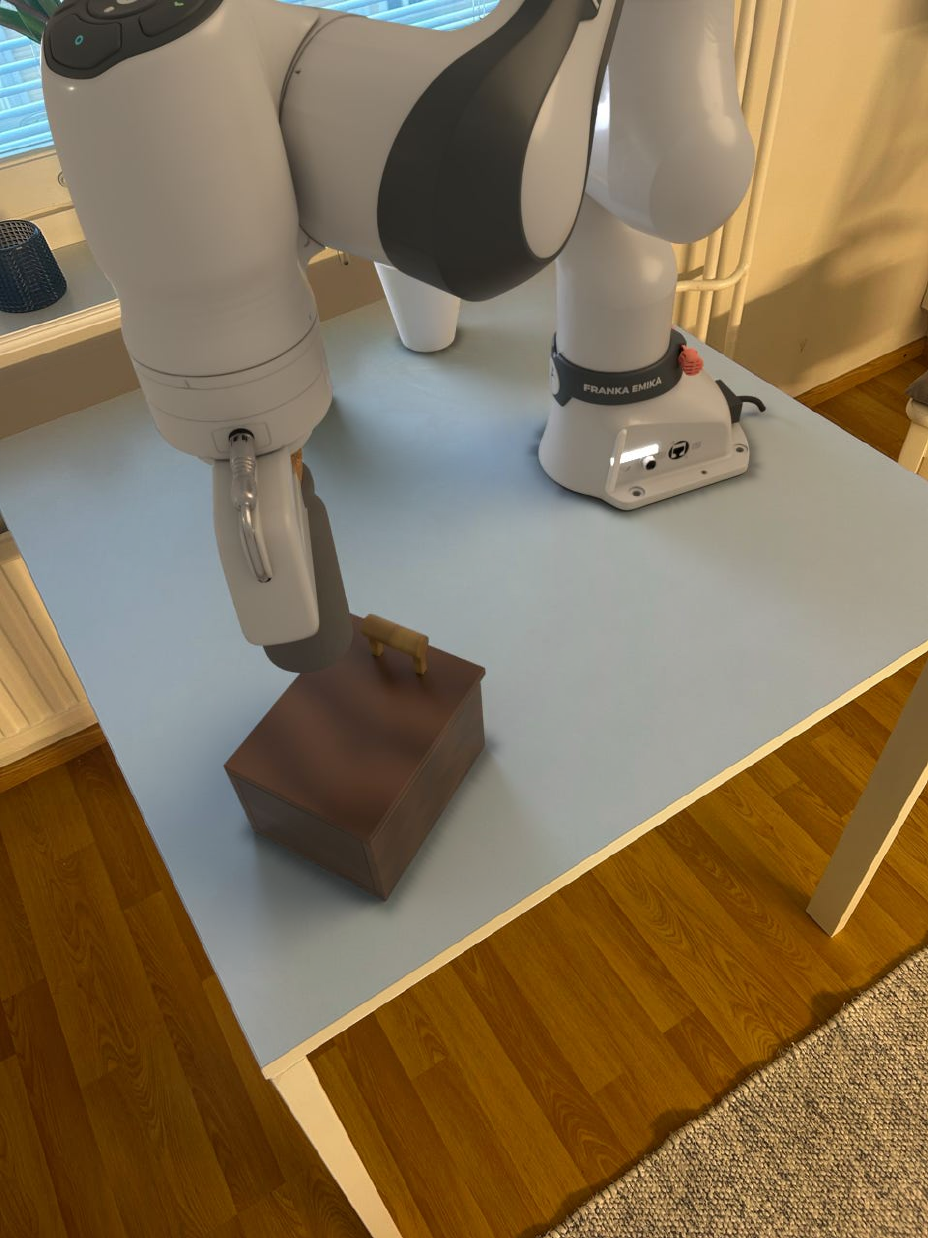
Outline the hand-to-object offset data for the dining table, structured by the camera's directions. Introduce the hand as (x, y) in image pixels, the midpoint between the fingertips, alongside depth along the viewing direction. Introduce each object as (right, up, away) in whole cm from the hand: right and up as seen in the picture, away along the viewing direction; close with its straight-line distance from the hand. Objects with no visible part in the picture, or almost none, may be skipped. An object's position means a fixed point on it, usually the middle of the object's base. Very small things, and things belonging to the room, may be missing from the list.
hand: (292, 573), depth 55 cm
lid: (+2, -10, +14) cm, 18 cm away
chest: (+3, -16, +21) cm, 27 cm away
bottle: (0, -4, +5) cm, 6 cm away
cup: (+6, +33, +64) cm, 72 cm away
